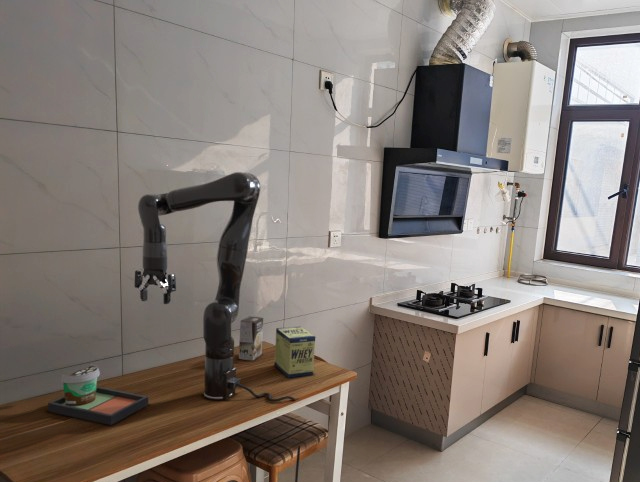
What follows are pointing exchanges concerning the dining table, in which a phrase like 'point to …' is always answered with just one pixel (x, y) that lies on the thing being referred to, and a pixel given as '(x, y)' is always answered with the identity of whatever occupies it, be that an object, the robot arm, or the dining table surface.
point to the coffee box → (250, 338)
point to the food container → (81, 386)
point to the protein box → (294, 351)
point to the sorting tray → (102, 406)
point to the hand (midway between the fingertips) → (155, 302)
